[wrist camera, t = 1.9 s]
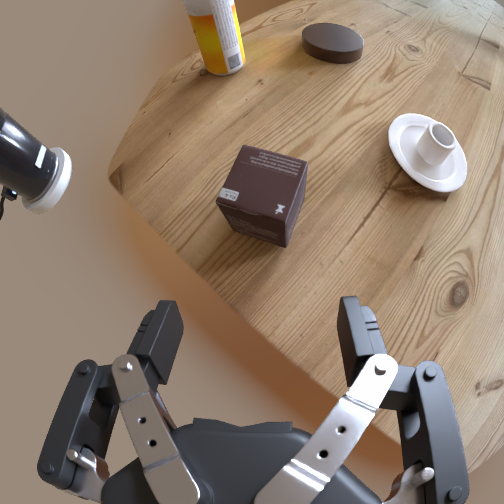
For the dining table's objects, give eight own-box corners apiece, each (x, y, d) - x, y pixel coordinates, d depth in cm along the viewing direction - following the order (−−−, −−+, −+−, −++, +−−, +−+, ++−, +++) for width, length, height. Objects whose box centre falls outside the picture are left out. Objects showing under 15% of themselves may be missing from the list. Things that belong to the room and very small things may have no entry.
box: (305, 198, 29) (310, 161, 22) (286, 250, 28) (286, 225, 21) (252, 181, 30) (242, 142, 23) (230, 230, 29) (213, 201, 22)
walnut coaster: (306, 62, 34) (307, 50, 32) (298, 32, 37) (298, 22, 34) (368, 65, 33) (371, 54, 31) (353, 35, 36) (354, 25, 33)
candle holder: (368, 141, 30) (377, 119, 25) (415, 105, 30) (424, 86, 26) (439, 213, 27) (457, 198, 22) (475, 164, 27) (490, 149, 23)
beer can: (228, 52, 37) (209, -22, 22) (254, 63, 35) (240, -18, 21) (199, 70, 36) (172, -6, 22) (224, 82, 35) (200, -2, 20)
